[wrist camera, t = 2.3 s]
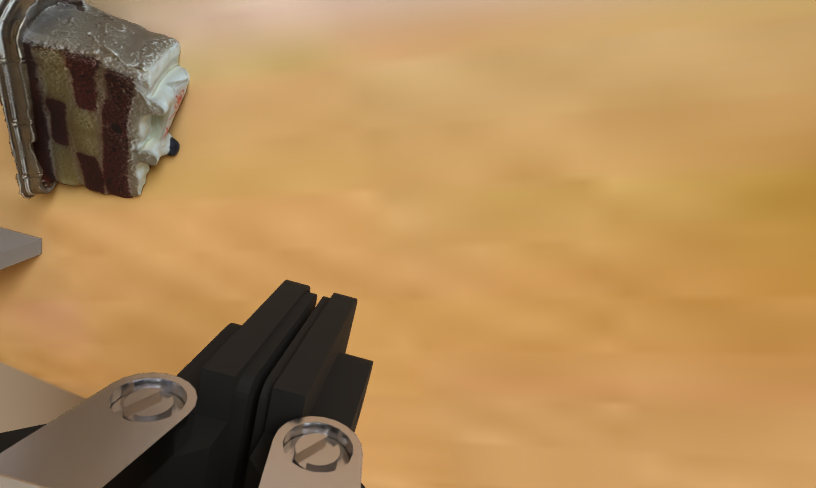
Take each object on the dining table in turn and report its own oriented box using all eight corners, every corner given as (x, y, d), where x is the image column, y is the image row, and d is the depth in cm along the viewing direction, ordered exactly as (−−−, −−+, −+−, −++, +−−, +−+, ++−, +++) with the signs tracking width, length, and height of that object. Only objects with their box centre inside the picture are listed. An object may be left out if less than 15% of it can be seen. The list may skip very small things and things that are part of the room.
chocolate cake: (161, 242, 30) (143, 136, 20) (27, 209, 28) (-71, 72, 18) (207, 114, 34) (213, -30, 24) (92, 77, 32) (43, -98, 22)
